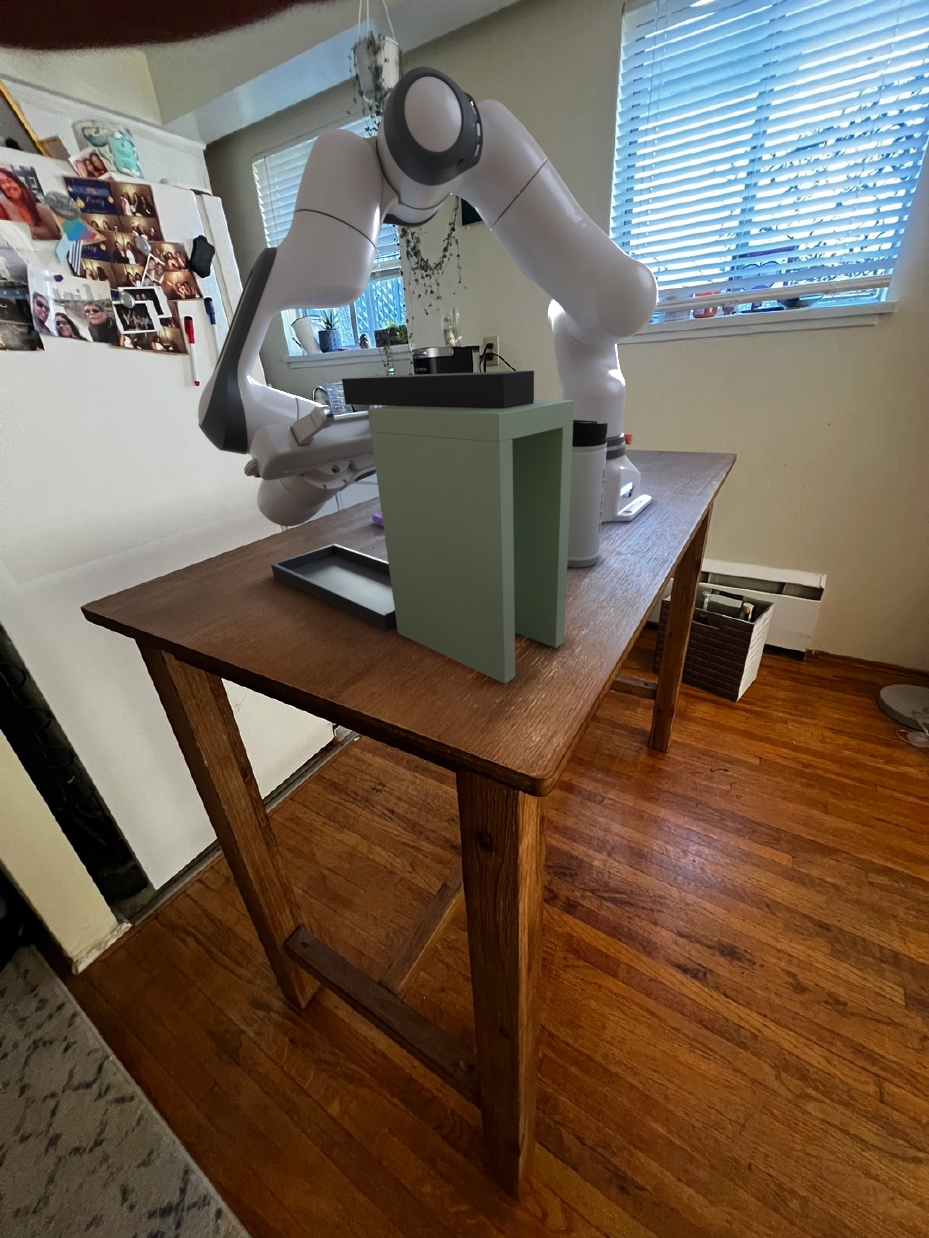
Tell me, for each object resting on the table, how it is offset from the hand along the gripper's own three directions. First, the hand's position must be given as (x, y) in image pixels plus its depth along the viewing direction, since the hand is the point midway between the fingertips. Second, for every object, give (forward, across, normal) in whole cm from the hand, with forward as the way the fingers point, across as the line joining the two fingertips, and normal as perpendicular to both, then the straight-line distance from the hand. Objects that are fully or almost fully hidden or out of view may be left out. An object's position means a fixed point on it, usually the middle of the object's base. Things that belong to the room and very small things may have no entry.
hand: (363, 407), depth 55 cm
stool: (+2, 0, +28) cm, 28 cm away
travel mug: (-2, +26, +26) cm, 37 cm away
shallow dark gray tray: (-18, 0, +17) cm, 25 cm away
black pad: (+10, 0, +5) cm, 11 cm away
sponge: (-35, +26, +7) cm, 44 cm away
